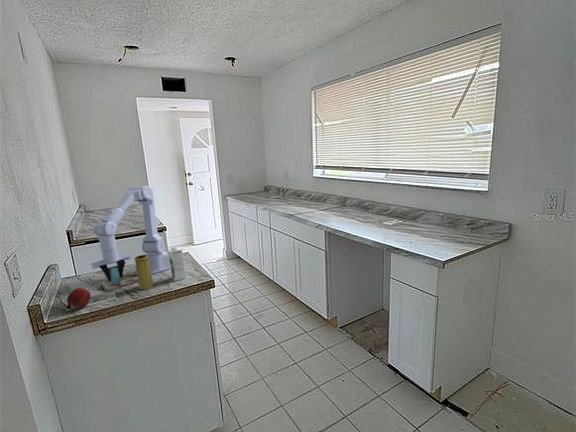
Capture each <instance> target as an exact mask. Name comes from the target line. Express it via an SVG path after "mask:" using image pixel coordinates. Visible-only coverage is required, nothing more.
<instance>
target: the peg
mask: <svg viewBox="0 0 576 432" xmlns="http://www.w3.org/2000/svg"><path fill="white" fill-rule="evenodd" d="M108 269H109V275H110V279H111V281H110V282H111V284H112V285H114V284H118V283H120V282H121V277H120V273H119V268H118V266H117V265H113V266H110V267H108Z"/></svg>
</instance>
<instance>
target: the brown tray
mask: <svg viewBox="0 0 576 432" xmlns="http://www.w3.org/2000/svg"><path fill="white" fill-rule="evenodd" d="M137 283H138V276H137V271H131V272H129V273H125V274H123V278H121V282H120V283H118V284H114V285H112V284H111V282H109V281H108V279H107V280H104V281H101V286H102V287H103V290H104V291H105V292H106V293H107V292H109V291H113V290H114V291H115V290H116V289H120V288H123V287H124V288H125V287H126V286H129V285H133V284H137Z"/></svg>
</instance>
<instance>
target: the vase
mask: <svg viewBox="0 0 576 432" xmlns="http://www.w3.org/2000/svg"><path fill="white" fill-rule="evenodd" d="M134 261H135V267H136V272H137V276H138V282H137V283H138V288H139V290H147V289H150V288H152V287H154V280H153V277H152V273H151V271H150V266H149V261H148V256H147V255H146V254H141V255H137V256H134Z"/></svg>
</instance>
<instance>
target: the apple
mask: <svg viewBox="0 0 576 432" xmlns="http://www.w3.org/2000/svg"><path fill="white" fill-rule="evenodd" d="M90 300H91V292H90V291H89V290H87V289H86V288H82V287H77V288H75V289H73V290H72V291H71V292H70V293H69V294H68V295H67V299H66V303H67V304H68V305H69V306H73V307H74V308H75V309H76V308H79V309H82V308H84V307H86V306H87V305H88V304H89V302H90Z"/></svg>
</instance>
